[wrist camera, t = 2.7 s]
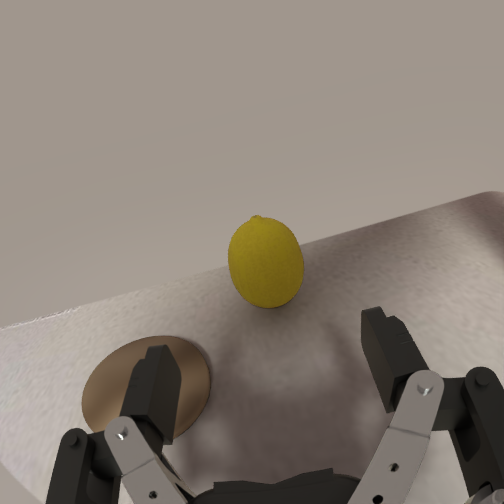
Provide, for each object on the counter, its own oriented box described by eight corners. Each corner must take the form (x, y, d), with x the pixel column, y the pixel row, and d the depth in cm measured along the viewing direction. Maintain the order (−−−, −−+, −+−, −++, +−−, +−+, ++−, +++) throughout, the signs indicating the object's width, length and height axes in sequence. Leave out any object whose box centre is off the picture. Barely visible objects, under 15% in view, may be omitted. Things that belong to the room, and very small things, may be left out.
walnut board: (240, 374, 20) (237, 367, 20) (135, 478, 14) (128, 473, 14) (154, 327, 27) (151, 320, 26) (69, 397, 20) (63, 391, 20)
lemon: (243, 291, 29) (220, 209, 25) (305, 280, 28) (291, 195, 24) (240, 334, 24) (211, 242, 20) (313, 322, 23) (299, 226, 19)
